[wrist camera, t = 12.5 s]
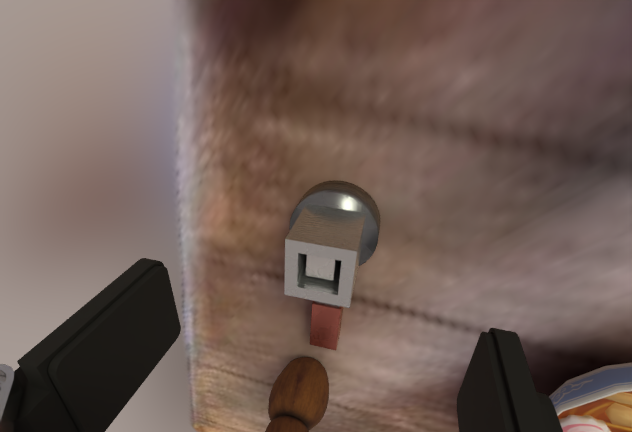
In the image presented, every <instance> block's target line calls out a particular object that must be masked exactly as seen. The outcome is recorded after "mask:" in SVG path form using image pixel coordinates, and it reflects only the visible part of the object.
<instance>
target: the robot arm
mask: <svg viewBox="0 0 632 432" xmlns="http://www.w3.org/2000/svg"><path fill="white" fill-rule="evenodd" d="M180 329H181V327H180V322H179V318H178V314H177V309H176V305H175V301H174V296H173V292H172V288H171V283H170V280H169V275H168V271H167V268H166V267H164V265H163V263H162V262H160V261H156V260H151V259H146V258H142V259H140V260H139V261H137V262H136V263H135V264H134V265H132V266H131V267H130V268H129V269H128V270H127V271H125V272H124V273H123V274H122V275H120V276H119V277H118V278H117V279H116V280H114V281H113V282H112V283H111V284H110V285H108V286H107V287H106V288H105V289H104V290H102V291H101V292H100V293H99V294H98V295H97V296H95V297H94V298H93V299H92V300H90V301H89V302H88V303H87V304H86V305H84V306H83V307H82V308H81V309H80V310H78V311H77V312H76V313H75V314H73V315H72V316H71V317H70V318H69V319H67V320H66V321H65V322H64V323H63V324H62V325H60V326H59V327H58V328H57V329H56V330H54V331H53V332H52V333H51V334H49V335H48V336H47V337H46V338H45V339H44V340H42V341H41V342H40V343H39V344H37V345H36V346H35V347H34V348H33V349H31V350H30V351H29V352H28V353H27V354H25V355H24V356H23V357H22V358H21V359H19V360H18V364H19V365H20V367H19V368H18V369H17V370H15V371H13V369H12V368H11V367H10V366H7V365H5V364H0V432H105V431H106V429H107V428H108V427H109V426H110V424H111V423H112V422H113V420H114V419H115V418H116V417H117V415H118V414H119V413H120V411H121V410H122V409H123V408H124V406H125V405H126V404H127V402H128V401H129V400H130V398H131V397H132V396H133V395H134V393H135V392H136V391H137V390H138V388H139V387H140V386H141V384H142V383H143V382H144V381H145V379H146V378H147V377H148V375H149V374H150V373H151V371H152V370H153V369H154V368H155V366H156V365H157V364H158V362H159V361H160V360H161V358H162V357H163V356H164V355H165V353H166V352H167V351H168V350H169V348H170V347H171V346H172V344H173V343H174V342H175V341H176V339H177V338H178V336H179V334H180ZM457 414H458V424H459V432H563V430H562V427H561V424H560V421H559V419H558V416H557V413H556V410H555V407H554V405H553V403H552V401H551V399H550V398H549V397H548V396H547V395H546V394H543V393H539V392H536V389H535V386H534V383H533V380H532V377H531V373H530V370H529V367H528V364H527V361H526V358H525V355H524V352H523V349H522V346H521V343H520V339H519V337H518V335H517V333H515V332H510V331H505V330H500V329H496V328H491V329H490V330H489V332H488V333H487V332H482V333H481V334H480V337H479V340H478V342H477V345H476V348H475V350H474V353H473V356H472V359H471V361H470V364H469V367H468V369H467V372H466V375H465V377H464V380H463V383H462V385H461V388H460V391H459V393H458V398H457Z"/></svg>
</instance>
